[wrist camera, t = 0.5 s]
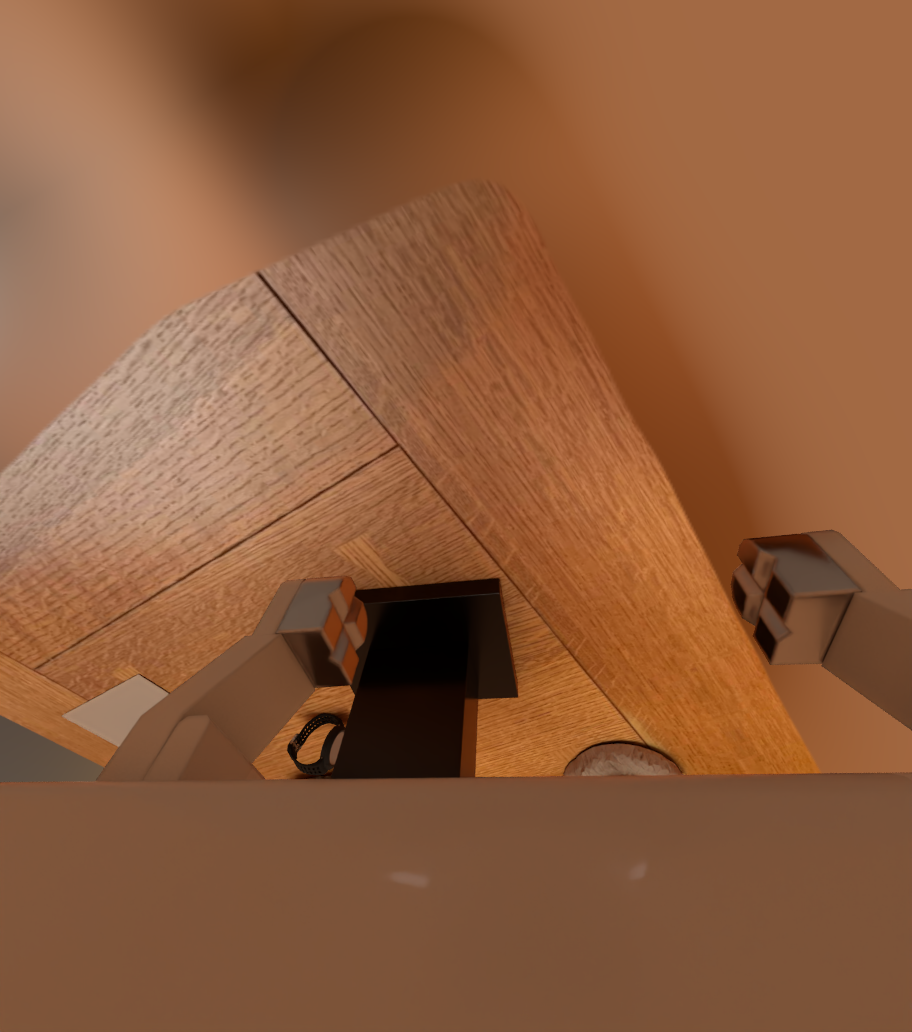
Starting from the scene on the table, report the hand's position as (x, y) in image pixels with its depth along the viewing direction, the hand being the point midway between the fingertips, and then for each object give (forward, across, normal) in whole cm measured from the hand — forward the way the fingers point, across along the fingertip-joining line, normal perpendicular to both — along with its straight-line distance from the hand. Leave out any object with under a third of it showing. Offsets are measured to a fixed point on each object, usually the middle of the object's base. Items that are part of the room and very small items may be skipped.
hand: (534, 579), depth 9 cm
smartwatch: (+16, +22, +31) cm, 41 cm away
